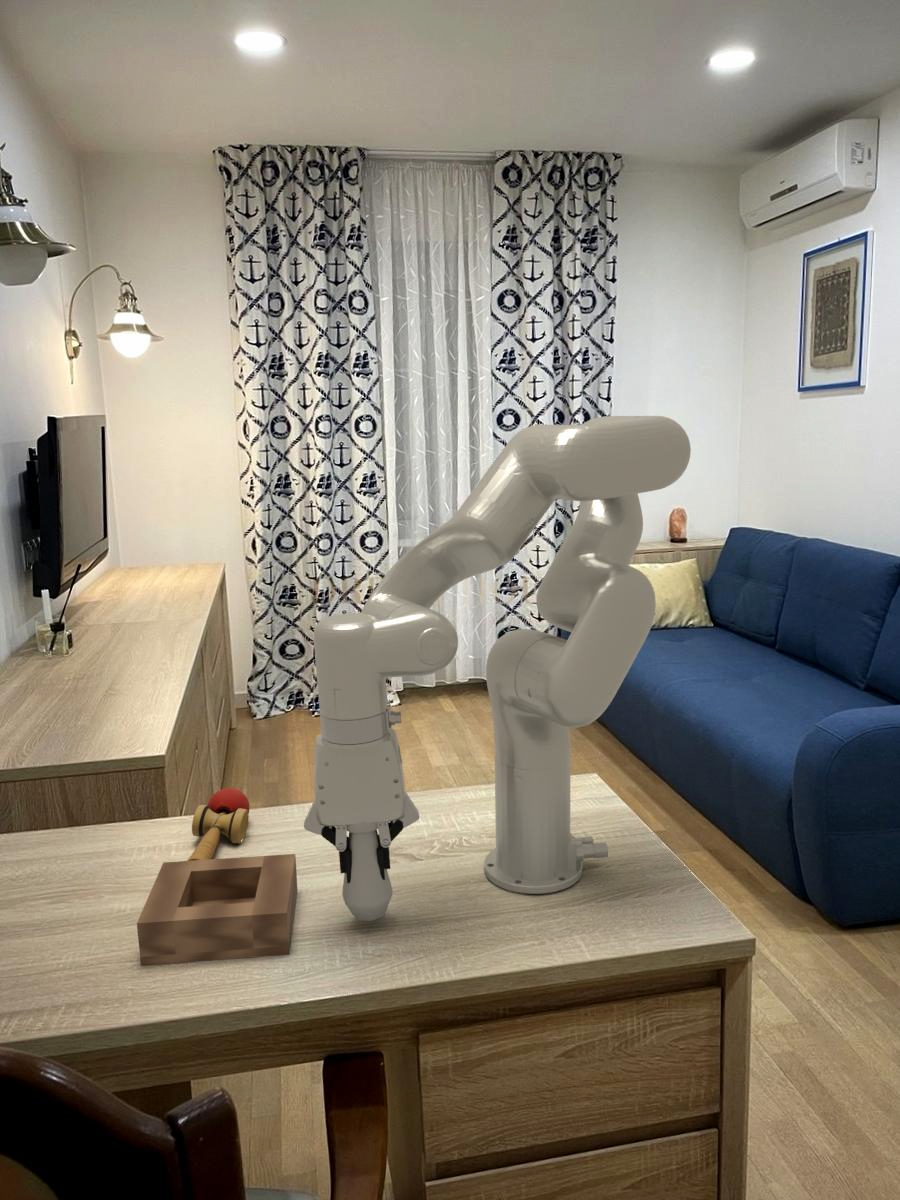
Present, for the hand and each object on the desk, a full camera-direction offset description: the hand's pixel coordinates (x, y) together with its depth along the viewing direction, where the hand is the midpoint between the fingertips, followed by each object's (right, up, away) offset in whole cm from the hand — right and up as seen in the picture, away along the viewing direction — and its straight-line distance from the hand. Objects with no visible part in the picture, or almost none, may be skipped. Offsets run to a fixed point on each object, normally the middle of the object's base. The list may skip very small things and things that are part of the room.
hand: (365, 874), depth 108 cm
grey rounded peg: (0, -5, +1) cm, 5 cm away
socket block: (-17, -6, +1) cm, 18 cm away
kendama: (-22, -3, +22) cm, 31 cm away
